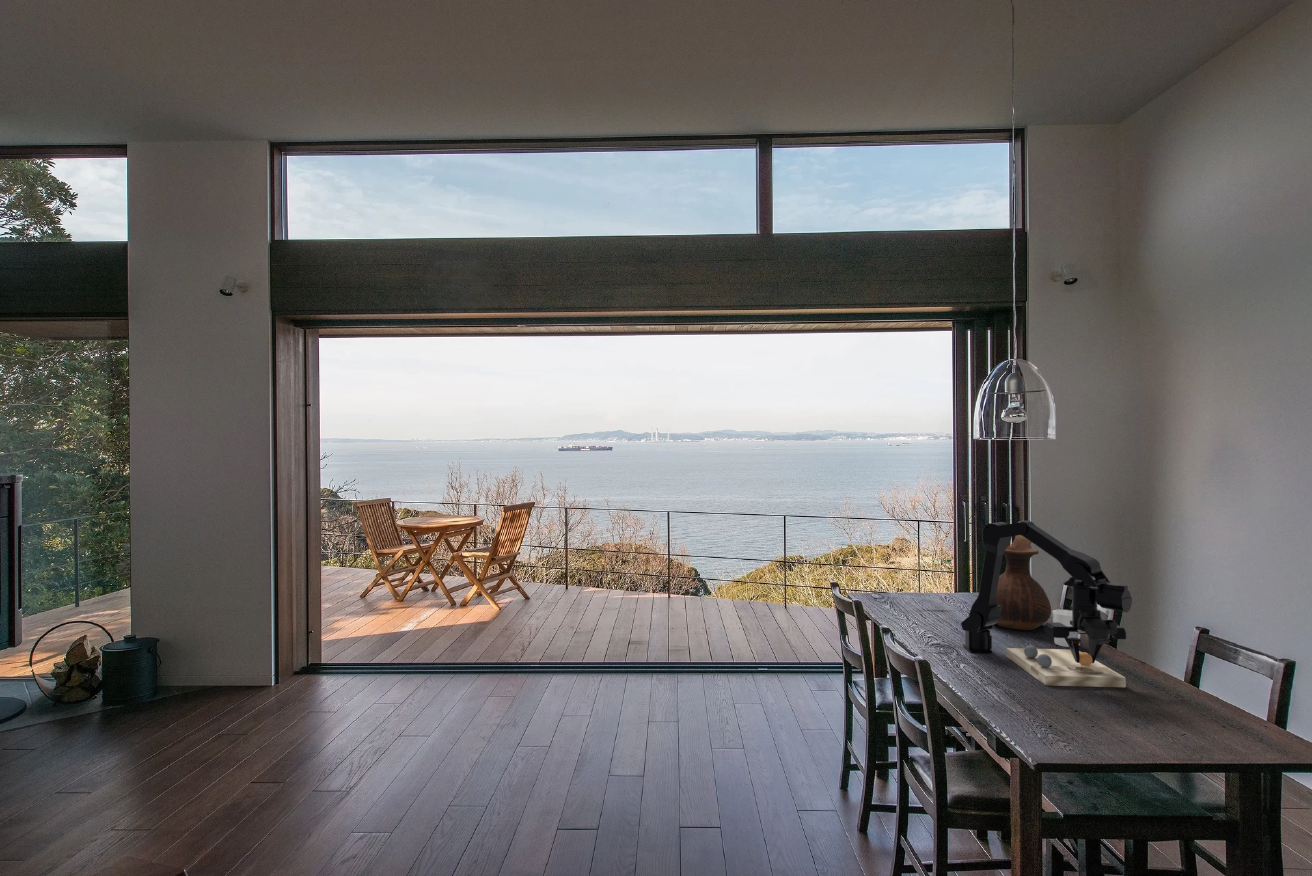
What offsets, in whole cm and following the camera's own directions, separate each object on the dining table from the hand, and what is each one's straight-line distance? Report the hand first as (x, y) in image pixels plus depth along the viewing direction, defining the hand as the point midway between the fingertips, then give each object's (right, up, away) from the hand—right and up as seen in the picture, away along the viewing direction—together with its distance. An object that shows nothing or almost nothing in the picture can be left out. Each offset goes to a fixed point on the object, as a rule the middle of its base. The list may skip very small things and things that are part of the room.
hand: (1084, 662), depth 187 cm
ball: (0, +1, 0) cm, 1 cm away
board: (-3, -4, +6) cm, 8 cm away
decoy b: (-10, 0, +2) cm, 10 cm away
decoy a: (-9, 0, +10) cm, 13 cm away
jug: (+9, -4, +53) cm, 54 cm away
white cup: (+13, -4, +31) cm, 34 cm away
